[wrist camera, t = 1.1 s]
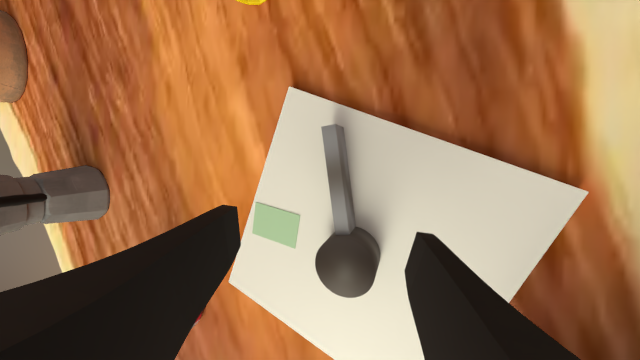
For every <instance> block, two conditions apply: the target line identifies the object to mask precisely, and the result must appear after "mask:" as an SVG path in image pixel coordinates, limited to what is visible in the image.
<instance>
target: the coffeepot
mask: <svg viewBox="0 0 640 360" xmlns="http://www.w3.org/2000/svg"><path fill="white" fill-rule="evenodd" d="M109 203H110V194H109V188H108V185H107V182H106V180H105V178H104V176H103V175H102V173H101V172H100V171H99V170H98V169H96V168H94V167H89V166H87V165H85V166H79V167H73V168H67V169H62V170H56V171H50V172H44V173H38V174H33V175H32V176H30V177H22V178H13V177H11V176H8V175H0V235H3V234H6V233H10V232H13V231H17V230H20V229H21V228H22V227H23V226H24V225H28V224H34V223H39V222H40V223H44V224H48V223H60V222H71V221H83V220H94V219H99V218H100V217H102V216H103V215H105V213H106V212H107V210H108V208H109Z"/></svg>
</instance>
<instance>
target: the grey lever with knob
mask: <svg viewBox="0 0 640 360" xmlns="http://www.w3.org/2000/svg"><path fill="white" fill-rule="evenodd" d="M321 129H322V136H323V144H324V152H325V159H326V167H327V175H328V182H329V190H330V198H331V206H332V213H333V221H334V229H335V232H334V233H333V234H332V235H331V236H330V237H329V238H328V239H327V240H326V241H325V242H324V243H323V244H322V246H321V247H320V248H319V249H318V251H317V254H316V258H315V267H316V272H317V275H318V277H319V279H320V280H321V282H322V283H323V285H324V286H325V287H326V288H327V289H329V290H330V291H331V292H333V293H334V294H336V295H339V296H342V297H346V298H356V297H359V296H362V295H364V294H365V293H367V292H368V291H369V290H370V289H371V287H372V285H373V283H374V280H375V277H376V273H377V270H378V266H379V262H380V249H379V246H378V243H377V242H376V240H375V239H374V237H373V236H372V235H371V234H370V233H369V232H367V231H366V230H364V229H362V228H359V227H356V223H355V215H354V207H353V199H352V191H351V183H350V175H349V167H348V159H347V150H346V142H345V134H344V127H342V126H339V125H337V124H333V125H328V126H323V127H321Z"/></svg>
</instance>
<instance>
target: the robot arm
mask: <svg viewBox="0 0 640 360" xmlns="http://www.w3.org/2000/svg"><path fill="white" fill-rule="evenodd" d="M240 246H241V241H240V232H239V222H238V212H237V207H235V206H228V205H221V206H219V207H216V208H214V209H212V210H210V211H208V212H206V213H204V214H202V215H200V216H198V217H196V218H194V219H192V220H190V221H188V222H186V223H184V224H182V225H179V226H177V227H175V228H173V229H171V230H169V231H167V232H165V233H163V234H160V235H158V236H156V237H154V238H152V239H149V240H147V241H145V242H143V243H141V244H138V245H136V246H134V247H131V248H129V249H127V250H124V251H122V252H119V253H117V254H114V255H112V256H109V257H106V258H104V259H101V260H98V261H96V262H93V263H90V264H88V265H85V266H82V267H79V268H76V269H73V270H70V271H67V272H64V273H61V274H58V275H55V276H52V277H49V278H46V279H43V280H40V281H37V282H34V283H30V284H27V285H23V286H20V287H17V288H14V289H10V290H7V291H3V292H0V360H174V359H175V358H176V356H177V354H178V352H179V350H180V348H181V346H182V344H183V343H184V341H185V339H186V337H187V335H188V333H189V332H190V330H191V328H192V327H193V325H194V323H195V322H196V320H197V319H198V317H199V316H200V314H201V312H202V311H203V309H204V308H205V306H206V305H207V303H208V302H209V300H210V299H211V297H212V296H213V294H214V292H215V291H216V289H217V288H218V286H219V285H220V283H221V282H222V280H223V279H224V277H225V275H226V274H227V272H228V271H229V269H230V267H231V265H232V263H233V261H234V259H235V257H236V255H237V253H238V251H239V249H240ZM404 272H405V280H406V287H407V293H408V299H409V303H410V306H411V310H412V314H413V318H414V322H415V325H416V329H417V333H418V336H419V340H420V344H421V347H422V351H423V355H424V358H425V360H581V359H579V358H578V357H576V356H575V355H574V354H572V353H571V352H570V351H568V350H567V349H566V348H564V347H563V346H562V345H560V344H559V343H558V342H557V341H555V340H554V339H553V338H551V337H550V336H549V335H548V334H546V333H545V332H544V331H542V330H541V329H540V328H539V327H537V326H536V325H535V324H533V323H532V322H531V321H530V320H528V319H527V318H526V317H525V316H523V315H522V314H521V313H520V312H519V311H517V310H516V309H515V308H514V307H513V306H512V305H510V304H509V303H508V302H507V301H506V300H505V299H503V298H502V297H501V296H500V295H499V294H498V293H496V292H495V291H494V290H493V289H492V288H491V287H490V286H489V285H487V284H486V283H485V282H484V281H483V280H482V279H481V278H480V277H479V276H478V275H477V274H475V273H474V272H473V271H472V270H471V269H470V268H469V267H468V266H467V265H466V264H465V263H464V262H463V261H462V260H461V259H460V258H459V257H458V256H457V255H455V254H454V253H453V252H452V251H451V250H450V249H449V248H448V247H447V246H446V245H445V244H444V243H443V242H442V241H441V240H440V239H439V238H438V237H436V236H435V235H434V234H430V233H423V232H417V233H416V236H415V239H414V242H413V245H412V248H411V251H410V255H409V258H408V261H407V264H406V267H405V270H404Z"/></svg>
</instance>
